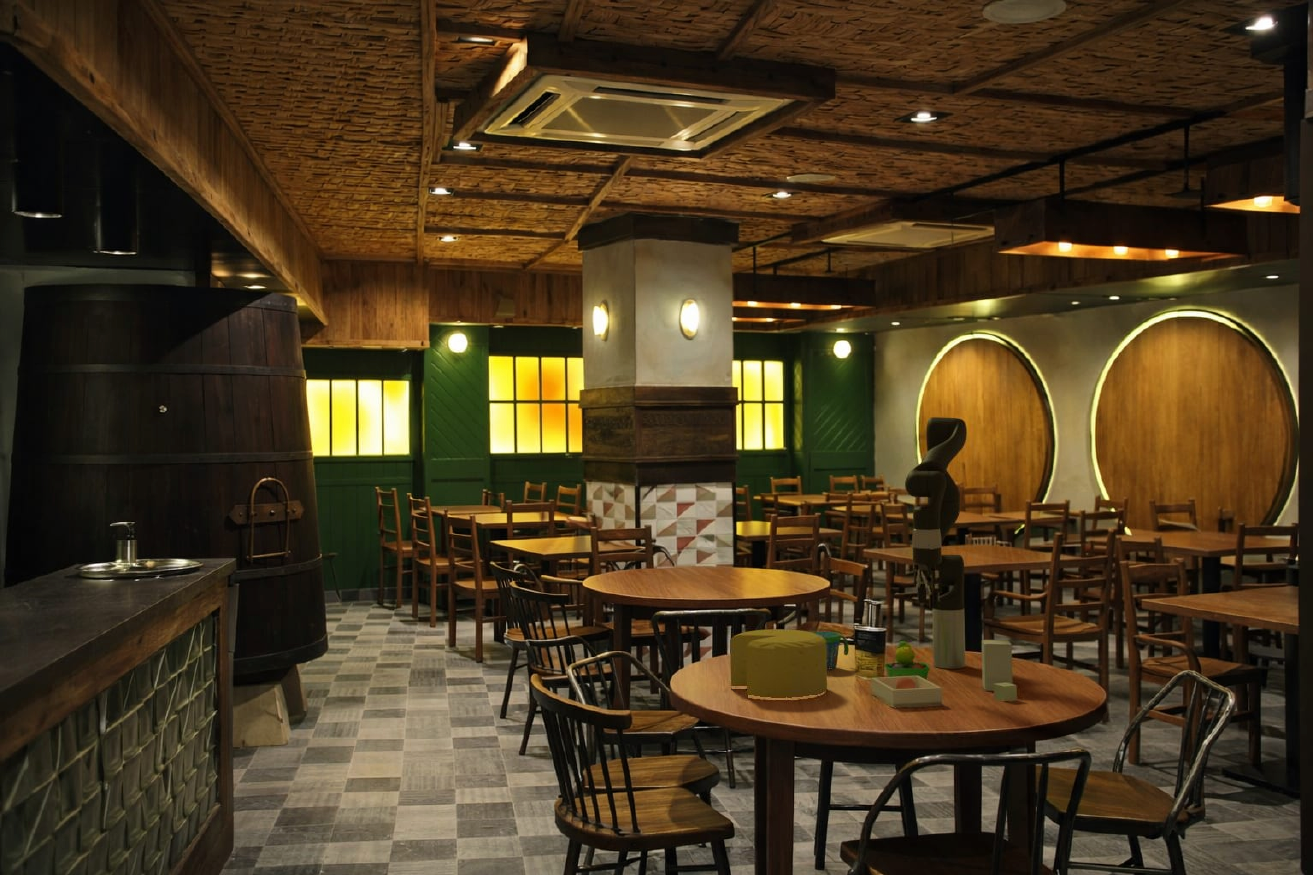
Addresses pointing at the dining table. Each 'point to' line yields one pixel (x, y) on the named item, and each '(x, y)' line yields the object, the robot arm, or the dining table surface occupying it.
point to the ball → (905, 683)
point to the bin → (906, 692)
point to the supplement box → (996, 663)
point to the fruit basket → (906, 663)
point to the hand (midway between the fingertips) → (927, 605)
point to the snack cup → (833, 647)
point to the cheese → (779, 663)
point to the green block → (1005, 692)
